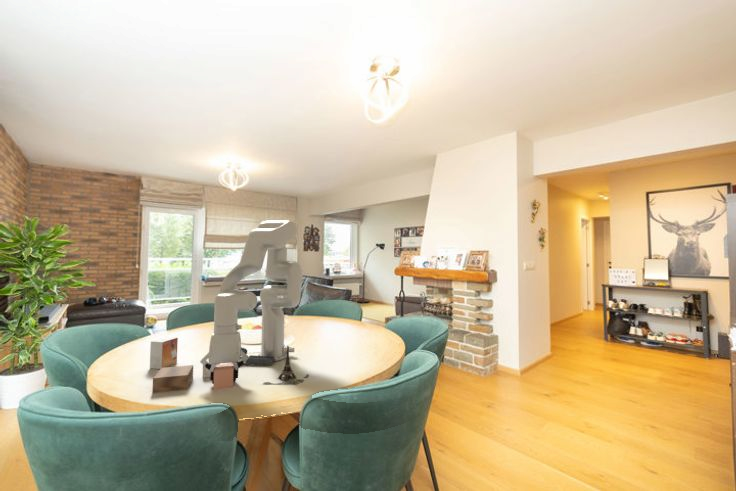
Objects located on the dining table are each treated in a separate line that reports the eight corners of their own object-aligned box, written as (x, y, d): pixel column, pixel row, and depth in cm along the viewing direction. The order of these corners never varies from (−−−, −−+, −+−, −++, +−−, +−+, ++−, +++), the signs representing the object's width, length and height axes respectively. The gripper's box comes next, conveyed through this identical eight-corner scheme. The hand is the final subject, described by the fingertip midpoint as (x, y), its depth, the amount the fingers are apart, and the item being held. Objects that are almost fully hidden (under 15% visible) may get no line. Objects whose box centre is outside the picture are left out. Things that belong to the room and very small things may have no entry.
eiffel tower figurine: (261, 386, 112) (262, 347, 112) (269, 375, 122) (270, 339, 122) (304, 386, 112) (305, 347, 112) (309, 375, 122) (309, 340, 123)
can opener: (225, 365, 131) (226, 349, 131) (231, 361, 136) (232, 346, 136) (271, 367, 130) (271, 351, 130) (275, 362, 135) (276, 347, 135)
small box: (161, 369, 125) (162, 342, 125) (149, 368, 126) (150, 341, 126) (177, 362, 133) (178, 337, 133) (165, 361, 134) (166, 336, 134)
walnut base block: (192, 378, 117) (193, 365, 117) (187, 390, 107) (187, 374, 107) (161, 382, 114) (161, 367, 114) (152, 393, 104) (152, 378, 104)
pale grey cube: (219, 371, 124) (219, 358, 124) (217, 376, 119) (217, 362, 119) (205, 372, 122) (205, 359, 122) (202, 377, 117) (202, 363, 118)
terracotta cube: (234, 380, 115) (235, 363, 116) (232, 386, 110) (233, 369, 110) (216, 381, 114) (216, 364, 114) (213, 388, 108) (213, 370, 108)
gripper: (252, 325, 118) (251, 375, 118) (200, 328, 113) (199, 379, 113) (251, 330, 111) (250, 383, 111) (195, 333, 106) (194, 388, 106)
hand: (224, 380), depth 112 cm, fingers closed on terracotta cube, 6 cm apart
